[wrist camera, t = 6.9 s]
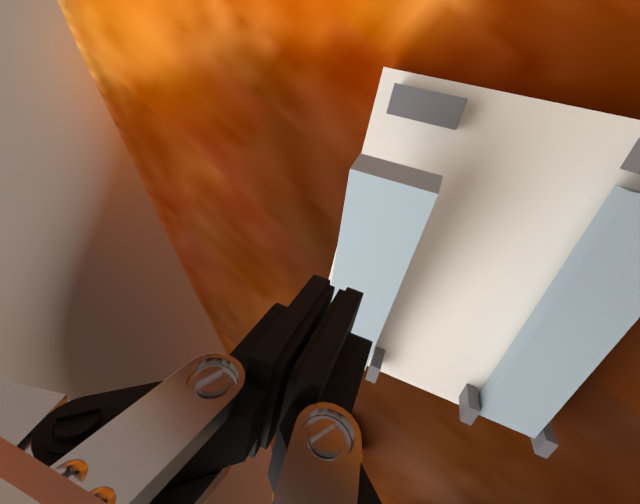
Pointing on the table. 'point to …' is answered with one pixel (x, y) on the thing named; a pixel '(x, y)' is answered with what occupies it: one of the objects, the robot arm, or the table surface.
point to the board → (487, 221)
